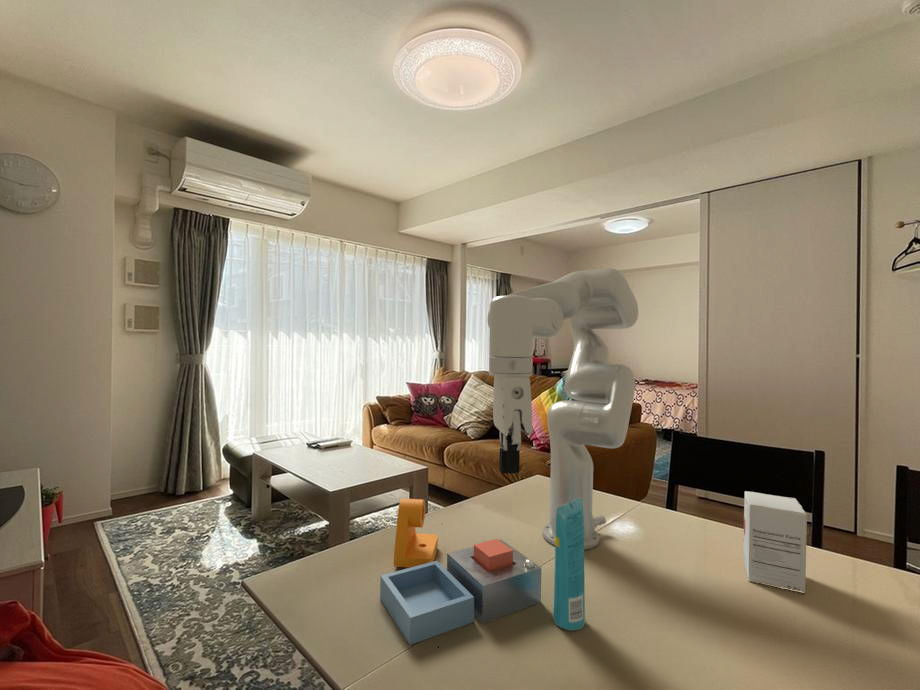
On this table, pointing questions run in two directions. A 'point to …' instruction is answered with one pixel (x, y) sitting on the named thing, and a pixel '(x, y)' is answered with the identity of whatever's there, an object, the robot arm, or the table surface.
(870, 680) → the table surface
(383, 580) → the blue open tray
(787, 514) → the supplement box
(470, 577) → the box
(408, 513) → the bracket
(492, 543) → the button
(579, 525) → the tube
